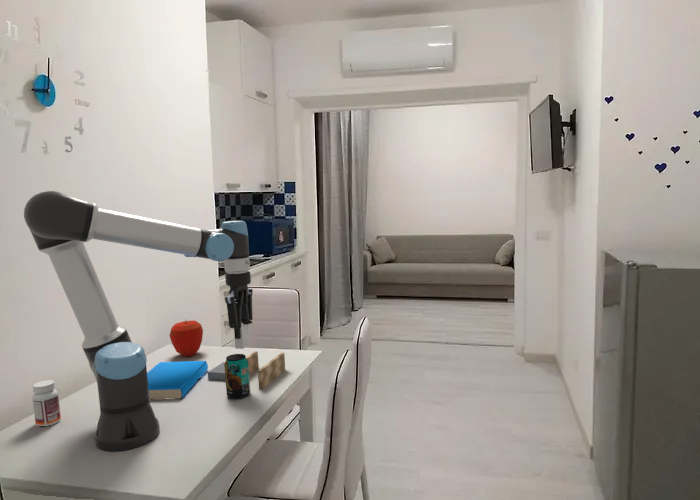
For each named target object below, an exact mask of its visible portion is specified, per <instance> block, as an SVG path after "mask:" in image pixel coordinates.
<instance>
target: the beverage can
mask: <svg viewBox="0 0 700 500" xmlns="http://www.w3.org/2000/svg"><path fill="white" fill-rule="evenodd" d="M246 357H247V356H246V355H245V354H243V353H233V354H230V355H227V356H226V358H225V359H226V360H225V361H224V362H225V363H224V366H225V379H226V381H225V389H226V390H225V391H226V396H227V397H228V398H230V399H232V398H233V400H237V399H238V400H239V398H240V399H243V398H245V397H247V396H249V394H250V393H251V386H250V375H249V367H248V360H247V359H246Z"/></svg>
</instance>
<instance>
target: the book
mask: <svg viewBox="0 0 700 500" xmlns="http://www.w3.org/2000/svg"><path fill="white" fill-rule="evenodd" d="M208 369H209V365H208V362H207V361H206V360H195V361H194V360H190V361H187V360H186V361H159V362H158V363H157V364H156V365H154V366H153V367H152V368H151V369H150V370H148V371H147V378H148V389H149V399H155V400H167V399H166V398H184V397H185V395H186V394H188V393H189V391H190V390H191V389H190V388H191V387H192V388H193V386H195V384H196V383H197V382H198V381H199V380H200V379H199V378H200V377H201V376H202V377H203V376H204V374H206V372H208ZM202 377H201V378H202ZM198 379H199V380H198ZM197 380H198V381H197Z"/></svg>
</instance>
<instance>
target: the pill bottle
mask: <svg viewBox="0 0 700 500" xmlns="http://www.w3.org/2000/svg"><path fill="white" fill-rule="evenodd" d="M32 390H33V391H32V392H33V393H34V394H33V395H32V404H33V405H32V406H33V412H34V413H33V414H34V421H35V425H36V426H37V427H39V426H45V427H50V426H53V425H56V424H57V423H59V422H60V421H61V419H62V415H61V414H62V413H61V407H60V401H59V392H58V390H57V389H56V386H55V381H54V380H52V379H48V380H42V381H38V382H36V383H34V384H33V385H32ZM49 425H50V426H49Z"/></svg>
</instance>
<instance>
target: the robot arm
mask: <svg viewBox="0 0 700 500" xmlns="http://www.w3.org/2000/svg"><path fill="white" fill-rule="evenodd" d="M23 209H24V210H23V219H24V222H25V223H26V226H27V227H28V230H29V231H30V233H31V236H32V238H33V240H34V242H35V244H36V247H37V249H38V251H39V252H41V253H44V254H46V255H47V256H48V257H49V259H50V262H51V264H52V266H53V268H54V271H55V273H56V274H57V277H58V280H59V282H60V285H61V287H62V289H63V291H64V293H65V296H66V298H67V300H68V302H69V305H70V307H71V310H72V311H73V314H74V316H75V318H76V320H77V323H78V325H79V328H80V329H81V333H82V334H83V337H84V340H83V342H82V343H81V347H82V350H83V352H84V354H85V357H86V359H87V361H88V364H89V367H90V369H91V371H92V373H93V375H94V378H95V381H96V384H97V385H96V386H97V392H98V402H99V412H100V413H99V418H98V422H97V428H96V432H95V435H94V439H95V440H94V441H95V445H96V447H97V448H98V449H99V450H102V451H107V452H119V451H120V452H121V451H126V450H131V449H134V448H135V449H136V448H138V447H141V446H143V445H146V444H148V443H150V442H151V441H153V440H154V439H156V438H157V437H158V436H159V434H160V431H161V430H160V422H159V419H158V418H157V416H156V415H155V412H154V410H153V407H152V405H151V402H150V401H151V400H149V389H148V378H147V372H148V369H147V361H148V360H147V354H146V352H145V348H144V347H143V346H142V345H140V344H139V343H136V342H133V341H132V340H131V337H130V335H129V333H128V331H127V327H125V326H124V325H120V324H118V322H117V319H116V317H115V314H114V312H113V310H112V308H111V306H110V303H109V300H108V298H107V296H106V293H105V291H104V289H103V286H102V284H101V282H100V279H99V277H98V274H97V272H96V269H95V267H94V265H93V262H92V261H91V258H90V256H89V253H88V250H87V248H86V246H85V244H84V243H87V242H89V241H91V240H97V241H103V242H109V243H113V244H114V243H115V244H122V245H126V246H132V247H140V248H144V249H150V250H154V251H155V250H156V251H161V252H168V253H173V254H180V255H183V256H184V257H185V258H202V259H207V260H211V261H215V262H222V261H223V264H224V272H225V275H224V276H225V278H224V279H225V285H226V286H228V287H229V295H228V296H225V297H224V301H225V304H226V310H227V318H228V326H229V329H233V330H234V331H233V334H234V345H235V347H234V348H235V349H236V350H237V349H238V350H243V349H245V346H250V345H251V336H250V335H251V333H250V324H253V291H254V290H253V288H249V286H248V285H250V284H251V282H252V278H251V271H249V270H250V269H251V266H250V264H251V261H250V250H249V233H248V232H249V231H248V227H247V223H246V221H244V220H227V221H223V222H222V223H221V226H220V228H216V229H202V228H201V229H200V228H198V227H193V226H187V225H182V224H177V223H173V222H168V221H163V220H157V219H153V218H148V217H143V216H139V215H133V214H128V213H124V212H119V211H115V210H109V209H104V208H100V207H98V205H97V204H96V203H94V202H90V201H86V200H83V199H80V198H79V199H78V198H75V197H73V196H70V195H67V194H66V193H63V192H60V191H55V190H49V191H48V190H46V191H42V192H39V193H37V194H35V195H33V196H32V197H30V198H29V200H28V201H27V202H26V204H25V206H24V208H23Z"/></svg>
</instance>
